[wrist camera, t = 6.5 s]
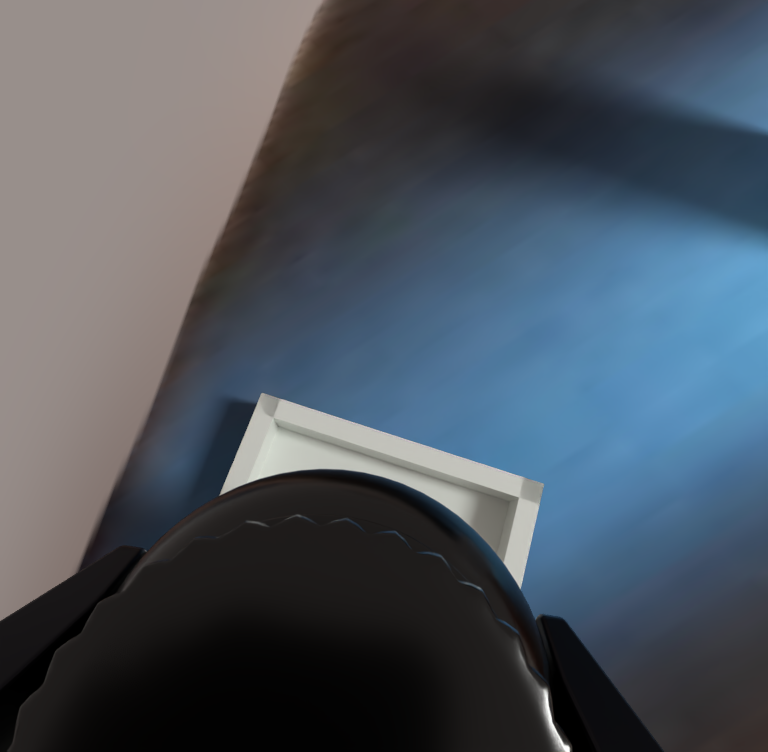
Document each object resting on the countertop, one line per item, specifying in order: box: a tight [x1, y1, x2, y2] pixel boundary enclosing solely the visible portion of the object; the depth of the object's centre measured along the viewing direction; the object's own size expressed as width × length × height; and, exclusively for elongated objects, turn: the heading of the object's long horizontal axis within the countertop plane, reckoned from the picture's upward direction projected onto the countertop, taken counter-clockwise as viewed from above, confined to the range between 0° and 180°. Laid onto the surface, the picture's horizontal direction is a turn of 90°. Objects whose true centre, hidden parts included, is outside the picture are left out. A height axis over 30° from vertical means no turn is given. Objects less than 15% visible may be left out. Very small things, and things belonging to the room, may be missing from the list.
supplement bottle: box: [7, 469, 572, 752], centre depth 10 cm, size 7×7×12 cm
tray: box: [219, 393, 544, 589], centre depth 20 cm, size 18×12×2 cm, turn 162°
